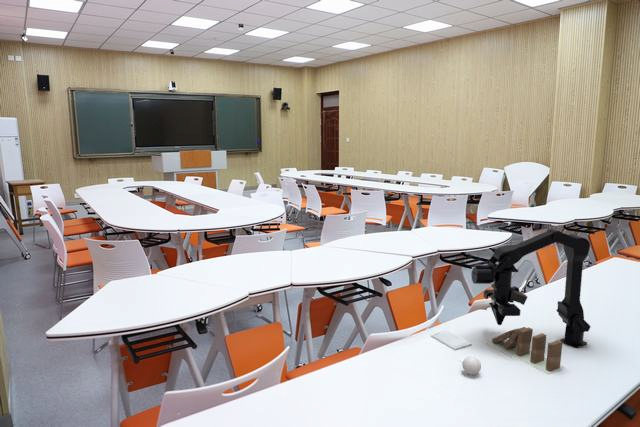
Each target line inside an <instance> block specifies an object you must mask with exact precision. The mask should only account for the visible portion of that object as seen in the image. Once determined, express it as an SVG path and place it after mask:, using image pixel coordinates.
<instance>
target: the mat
mask: <svg viewBox="0 0 640 427" xmlns="http://www.w3.org/2000/svg"><path fill="white" fill-rule="evenodd" d="M507 341H508V339H506V340H503V341H501V342H497V343H494V344H493V342H492V340H491V339H490V340H488V341H484V343H485V344H486V345H488V346H490V347H493V348H495V349H497V350H499V351H500V352H503V353H504V354H507V355H508V356H511V357H513V358H514V359H517V360H518V361H520V362H522V363H524V364H526V365H529V366H530V367H533V368H534V369H536V370H538V371H540V372H542V373H545V374H547V375H550V374H553V373H556V372H558V371H561V370H562V369H566V366H564V365H561V364H560V368H558V369H556V370H554V371H551V372H550V371H547V370H546V360H547V357H544V361H541V362H539V363H536V364H533V363H531V362H530V358H531V350H530V353H529V354H526V355H524V356H521V357H519V356H517V355H516V350H517V346H516V347H514V348H511V349H508V350H506V349H505V348H504V347H503V346H504V345H505V343H506V342H507Z"/></svg>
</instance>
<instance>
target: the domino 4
mask: <svg viewBox="0 0 640 427" xmlns="http://www.w3.org/2000/svg"><path fill="white" fill-rule="evenodd" d="M546 346H547V334H545V333H538V334H536V335H532V339H531V346H530V351H531V358H530V362H531V363H533V364H536V363H539V362H541V361H544V357H545V356H546V355H545V354H546ZM545 358H546V357H545Z"/></svg>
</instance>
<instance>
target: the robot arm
mask: <svg viewBox="0 0 640 427" xmlns="http://www.w3.org/2000/svg"><path fill="white" fill-rule="evenodd" d="M555 243H559V244H561V245H563V252H564V254H565V256H566V259H567V260H566V273H565V275H566V276H565V286H564V287H565V289H564V298H563V299H562V301H559V300H558V301H557V308H556V312H557V313H558V316H559V318H561V320H562V322H563V323H564V324H566V325H565V331H564V336H563V338H560V340H559V341H562V342H563V343H565V344H567V345H569V346H571V347H573V348H580V347H582V346H586V345H588V342H586V341H585V340H584V335H585V332H586V333H587V332H589V331H590V329H591V327H592V326H591V325H590V324H589V323H588V322H587V321H586V320H585V314H584V308H583V306H582V303H581V291H582V290H581V289H582V279H583V278H582V277H583V267H584V266H583V264H584V261H585V259H587V257H589V252H590V248H591V242H590V241H589V240H588V238H585V237H583V236H580V235H578V234H576V233H570V234H569V233H568V234H567V233H564V232H562V231H560V230H558V229H555V228H549V229H548V230H546V231H544V232H542V233H539V234H537V235H535V236H533V237H530V238H528V239H525V240H523V241H521V242H518V243H515V244H508V245H502V246H499V247H497V248H496V249H494V252H493V254H492V256H490V258H489V259H488V260H487V261H486V264H477V263H474V267H473V268H472V271H471V281H472V283H473V284H479V285H480V284H481V285H483V284H484V285H487V284H489V285H490V284H491V287H492V289H485V290H484V291H483V297H484V299H485V300H488V299H489V297H490V300H491V302H489V303H488V304H489V307H490V309H491V310H492V313H493V316H494V318H495V321H496V324H497V325H498V326H502V325H503V322H504V320H505V317H519V316H521V308H519V307H518V306H517V305H516V304H514V302H516V303H519V304H521V305H522V306H524V305H525V303H526V301H527V300H528V296H527V295H526V294H524V293H523V292H522V291H520V288H519V287H517V286H516V285H513V286H512V279H513V273H519V269H518V268H517V267H515V264H517V263H518V262H520V261H521V259H523V257H525V256H527V255H530V254H531V253H535V252H537V251H539V250H542V249H544V248H545V247H548V246H551V245H553V244H555Z"/></svg>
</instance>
